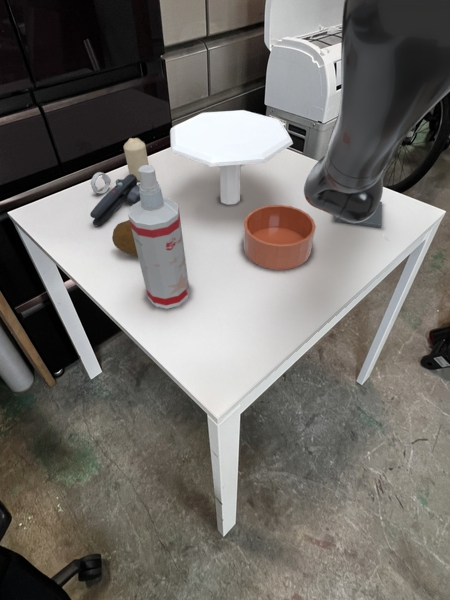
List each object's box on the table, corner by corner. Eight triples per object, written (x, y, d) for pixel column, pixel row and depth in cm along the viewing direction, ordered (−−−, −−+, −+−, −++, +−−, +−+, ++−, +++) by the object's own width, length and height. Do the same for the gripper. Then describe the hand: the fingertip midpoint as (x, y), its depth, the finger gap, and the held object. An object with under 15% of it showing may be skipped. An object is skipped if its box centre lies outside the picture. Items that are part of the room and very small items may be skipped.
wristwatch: (113, 189, 97) (108, 171, 94) (99, 197, 94) (94, 179, 91) (105, 186, 98) (100, 168, 95) (91, 195, 95) (86, 176, 92)
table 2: (195, 167, 105) (190, 103, 93) (294, 178, 99) (302, 113, 87) (156, 222, 86) (143, 152, 74) (275, 240, 81) (282, 168, 69)
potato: (116, 241, 82) (107, 211, 76) (172, 235, 83) (168, 204, 77) (115, 265, 76) (105, 234, 71) (175, 258, 77) (171, 227, 72)
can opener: (130, 188, 97) (125, 168, 93) (151, 194, 95) (148, 174, 91) (82, 223, 87) (75, 202, 83) (106, 231, 84) (99, 210, 80)
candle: (136, 183, 99) (128, 146, 92) (126, 175, 102) (118, 139, 95) (154, 176, 101) (148, 140, 94) (144, 169, 104) (137, 133, 97)
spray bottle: (151, 279, 73) (124, 156, 55) (189, 278, 73) (175, 155, 55) (146, 309, 67) (114, 183, 49) (187, 308, 67) (170, 181, 49)
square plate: (380, 204, 90) (381, 201, 89) (380, 228, 83) (381, 225, 83) (338, 198, 92) (339, 196, 91) (335, 221, 85) (335, 218, 85)
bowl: (314, 233, 82) (319, 210, 78) (305, 275, 73) (310, 251, 69) (252, 224, 85) (253, 200, 81) (236, 263, 76) (236, 239, 72)
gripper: (418, 129, 58) (429, 94, 68) (330, 115, 62) (354, 84, 73) (402, 174, 63) (415, 135, 74) (322, 158, 67) (345, 124, 78)
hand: (384, 110), depth 73 cm, fingers closed
